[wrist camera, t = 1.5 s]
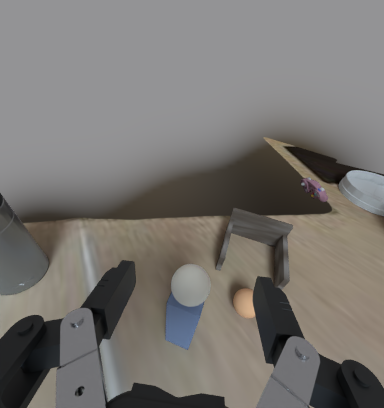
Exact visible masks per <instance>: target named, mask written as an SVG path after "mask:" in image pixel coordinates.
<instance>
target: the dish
mask: <svg viewBox="0 0 384 408" xmlns="http://www.w3.org/2000/svg"><path fill="white" fill-rule="evenodd" d="M338 186H339V190H340V191H341V193H342V194H343V195H344V196H345V197H346V198H347V199H348V200H350V201H351V202H353V203H354V204H356V205H357V206H359V207H361V208H363V209H365V210H367V211H369V212H372V213H374V214H377V215H380V216H383V217H384V177H383V176H381V175H378V174H375V173H371V172H366V171H358V170H355V171H350V172H348V173H347V174H346V176H345V177H344V178H343V179H342V180H341V181H340V183H339V185H338Z"/></svg>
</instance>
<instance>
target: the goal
mask: <svg viewBox="0 0 384 408" xmlns="http://www.w3.org/2000/svg"><path fill="white" fill-rule="evenodd" d="M292 228H293V225H291V224H288V223H285V222H281V221H278V220H275V219H271V218H268V217H264V216H261V215H258V214H254V213H251V212H248V211H244V210H241V209H237V208H234V209H233V212H232V215H231V218H230V220H229V223H228V226H227V229H226V233H225V237H224V241H223V244H222V248H221V252H220V255H219V259H218V263H217V267H216V269H217V270H219V271H220V270H221V267H222V265H223V262H224V260H225V256H226V252H227V248H228V244H229V239H230V235H231V233H233V234H236V235H239V236H243V237H246V238H249V239H252V240H255V241H258V242H261V243H264V244H267V245H271V246H274V247H275V284H274V287H278V288H280V289H281V290H282V289H283V288H284V286H285V285H286V284H287V283H288V282H289V281H290V279H289V260H288V242H287V236H288V234H289V233H290V231H291V230H292Z"/></svg>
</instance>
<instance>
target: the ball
mask: <svg viewBox="0 0 384 408" xmlns="http://www.w3.org/2000/svg"><path fill="white" fill-rule="evenodd" d="M233 305H234V308H235V310H236V311H237V313H238V314H239V315H241V316H242V317H244V318H253V317H255V311H254V307H253V290H251V289H248V288H243V289H240V290H238V291H237V292H236V293H235V295H234V298H233Z"/></svg>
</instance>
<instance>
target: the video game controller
mask: <svg viewBox="0 0 384 408" xmlns="http://www.w3.org/2000/svg"><path fill="white" fill-rule="evenodd" d="M301 185H302V186H303V188H304V190H305V192H306V193H309V192H311V190H312V193H310V196H311V197H312V198H313V199H314V198H318V199H319V200H320V201H322V202H325V201H327V200H328V196H327V195H326V192H325V190H324V188H322V187H321V186H320V184H319V183H318V182H317V181H314V180H312V179H311V178H310V177H309V178H304V179H302V180H301Z"/></svg>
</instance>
